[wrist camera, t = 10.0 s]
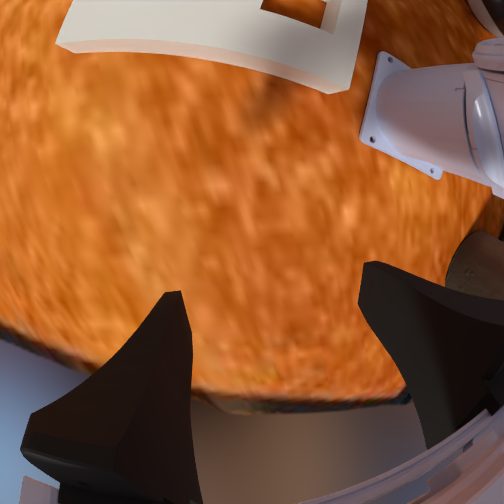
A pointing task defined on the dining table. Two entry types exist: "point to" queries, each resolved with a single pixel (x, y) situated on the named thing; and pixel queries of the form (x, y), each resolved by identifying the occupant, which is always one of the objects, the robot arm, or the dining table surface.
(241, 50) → the hole block
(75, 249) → the dining table surface
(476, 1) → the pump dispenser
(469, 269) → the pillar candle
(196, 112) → the dining table surface
